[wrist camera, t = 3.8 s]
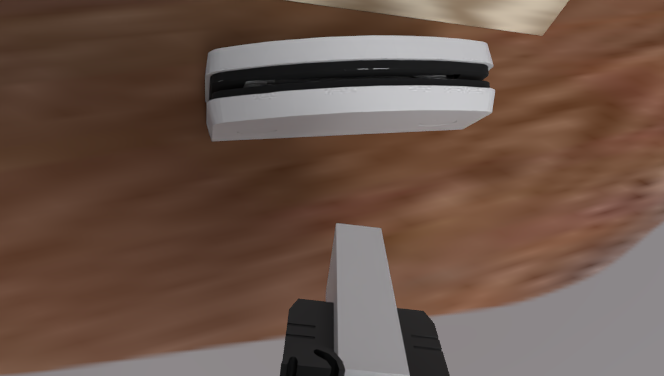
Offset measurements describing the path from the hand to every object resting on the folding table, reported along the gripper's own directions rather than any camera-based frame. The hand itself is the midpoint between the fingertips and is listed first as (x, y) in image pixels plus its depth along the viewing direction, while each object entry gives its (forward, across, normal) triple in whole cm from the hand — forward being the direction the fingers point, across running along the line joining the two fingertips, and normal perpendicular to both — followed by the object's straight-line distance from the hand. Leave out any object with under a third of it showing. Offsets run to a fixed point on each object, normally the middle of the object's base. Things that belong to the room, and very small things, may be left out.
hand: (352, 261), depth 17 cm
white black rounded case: (+17, 0, 0) cm, 17 cm away
